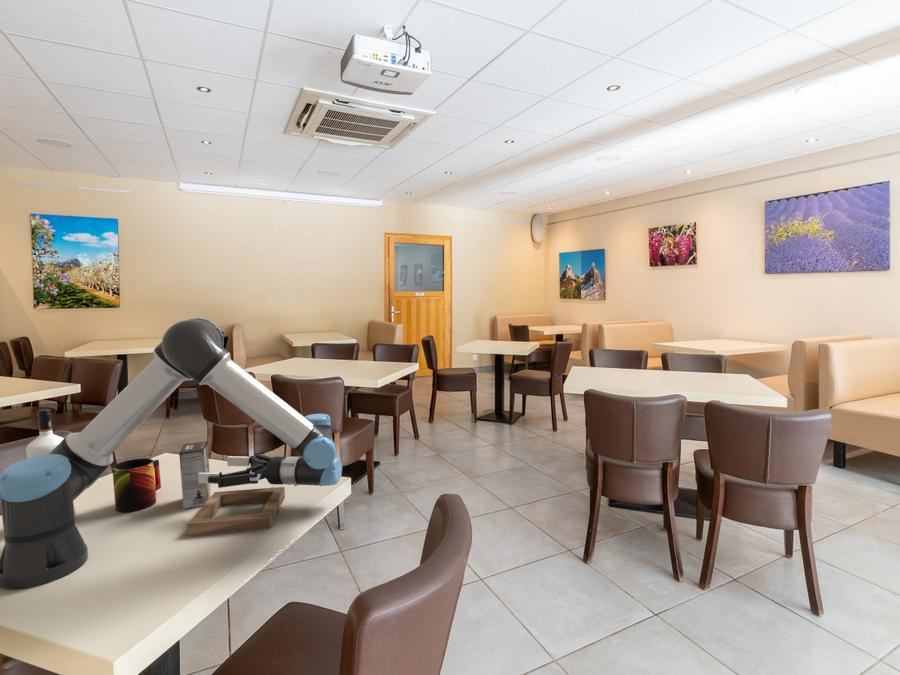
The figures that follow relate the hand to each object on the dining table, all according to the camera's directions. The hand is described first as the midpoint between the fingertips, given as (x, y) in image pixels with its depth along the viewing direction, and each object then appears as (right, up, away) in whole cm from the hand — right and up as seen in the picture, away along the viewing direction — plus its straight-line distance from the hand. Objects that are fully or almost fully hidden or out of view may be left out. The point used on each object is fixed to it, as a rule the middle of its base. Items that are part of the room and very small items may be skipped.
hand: (214, 469), depth 139 cm
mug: (-22, -10, +1) cm, 24 cm away
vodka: (-37, -11, -11) cm, 40 cm away
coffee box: (-5, -10, +1) cm, 11 cm away
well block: (+11, -10, -9) cm, 17 cm away
